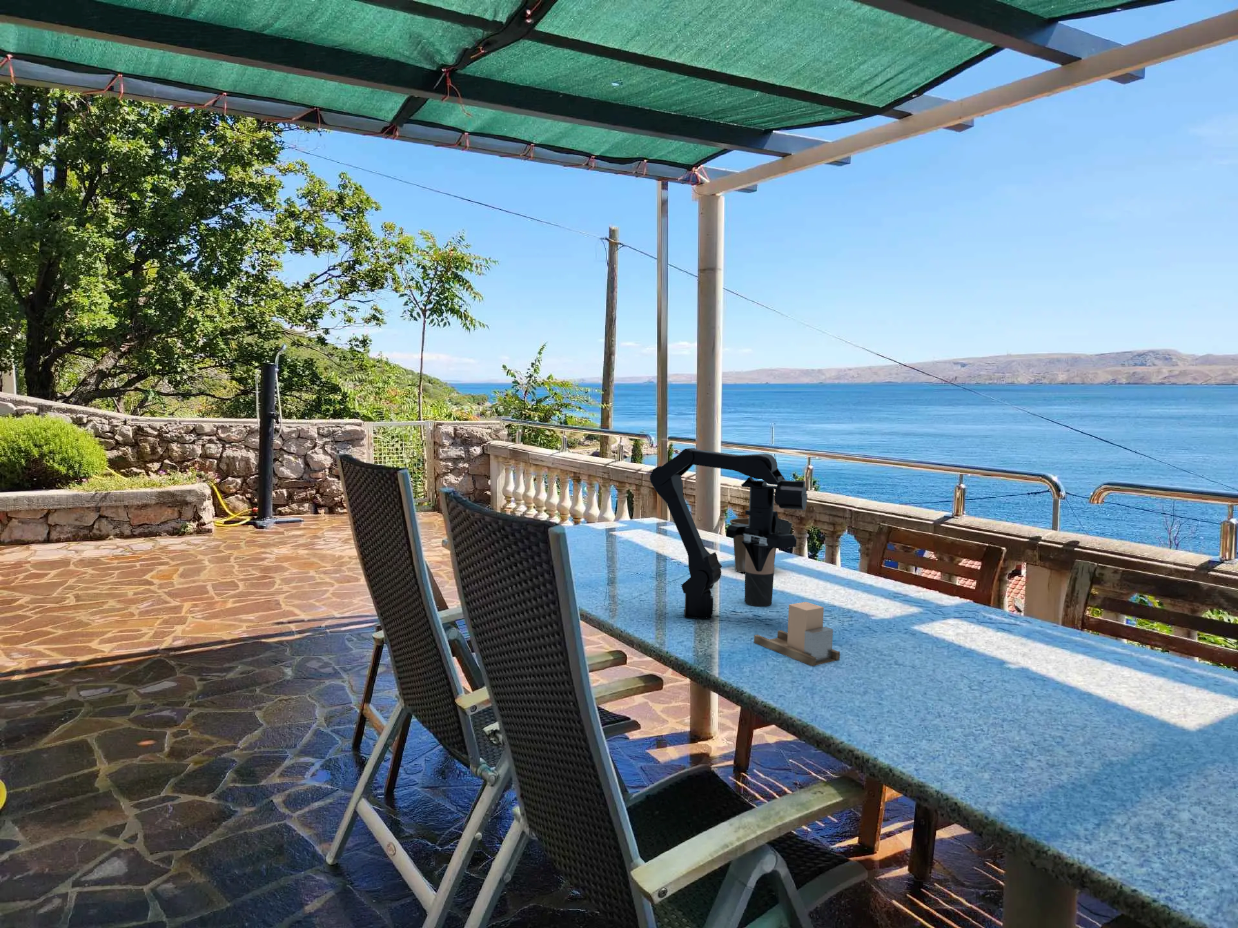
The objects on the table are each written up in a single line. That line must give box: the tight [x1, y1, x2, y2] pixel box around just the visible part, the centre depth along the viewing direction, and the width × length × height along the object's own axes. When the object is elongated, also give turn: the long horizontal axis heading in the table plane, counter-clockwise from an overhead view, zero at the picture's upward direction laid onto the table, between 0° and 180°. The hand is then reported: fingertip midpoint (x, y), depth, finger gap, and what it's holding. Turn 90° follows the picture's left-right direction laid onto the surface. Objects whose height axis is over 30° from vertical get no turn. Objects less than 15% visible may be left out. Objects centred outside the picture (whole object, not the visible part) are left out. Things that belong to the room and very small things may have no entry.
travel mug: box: [744, 533, 776, 608], centre depth 201 cm, size 8×8×20 cm
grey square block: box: [804, 626, 834, 662], centre depth 155 cm, size 2×6×7 cm, turn 122°
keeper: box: [787, 601, 825, 653], centre depth 158 cm, size 5×5×10 cm
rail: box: [753, 629, 841, 667], centre depth 160 cm, size 17×8×2 cm, turn 32°
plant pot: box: [729, 517, 777, 574], centre depth 241 cm, size 16×16×16 cm
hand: (759, 571), depth 181 cm, fingers closed
